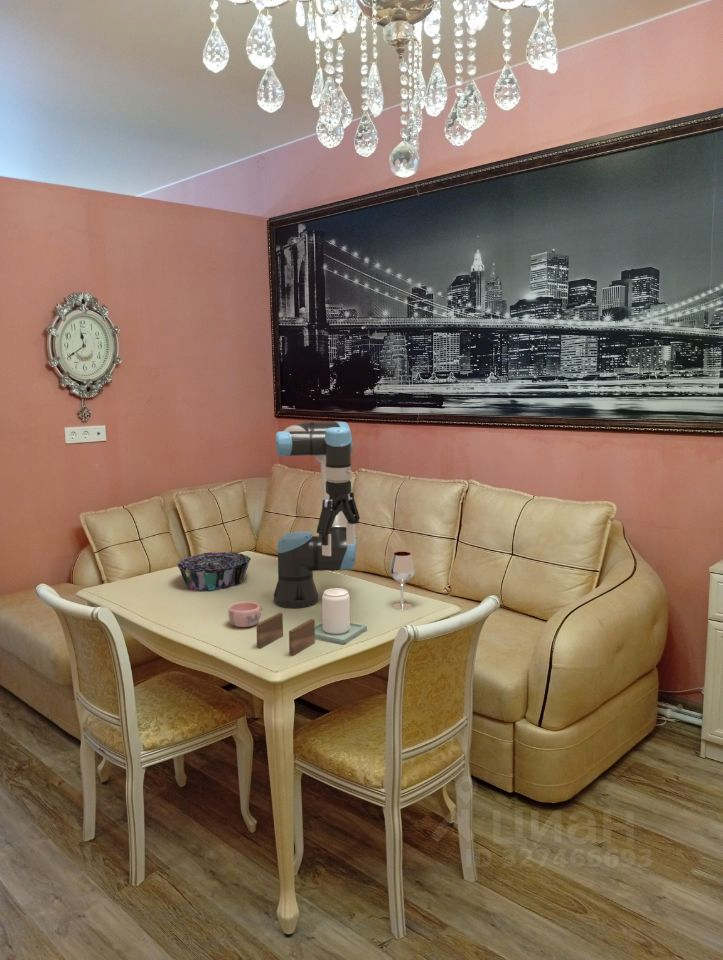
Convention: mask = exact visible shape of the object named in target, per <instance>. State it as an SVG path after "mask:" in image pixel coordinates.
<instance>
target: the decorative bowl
mask: <svg viewBox="0 0 723 960" xmlns="http://www.w3.org/2000/svg"><path fill="white" fill-rule="evenodd" d="M251 560H252V558H251V557H249V556H248V555H246V554H243V553H239V552H227V551H211V552H204V553H199V554H195V555H191V556H188V557H185V558H182V559H181V560H179V561H178V562H177V563H176V565H177V566H176V567H177V568H178V569H179V571H180V575H181V576H182V579H183V580H184V584H185V586H186V587H188V588H190V589H192V590H196V591H198V592H202V591H203V592H204V591H207V592H212V591H217V590H221V589H228V588H230V587H234V586H236V587H237V586H240V585H241V583H242V582H243V580H245V576H246V574H247V570H248V568H249V564H250V561H251Z"/></svg>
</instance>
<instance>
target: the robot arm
mask: <svg viewBox="0 0 723 960" xmlns="http://www.w3.org/2000/svg"><path fill="white" fill-rule="evenodd" d="M353 447H354V445H353V436H352V431H351V428H350V425H349V424H348V422H345V421H337V420H335V421H305V422H299V423H295V424H291V425H289V426H287V427H285V428H284V430H283V431H277V432H276V433H275V454H276V455H277V456H279V457H292V456H293V457H295V456H297V457H298V456H300V457H301V456H315V459H316V461H317V462H319V463H320V475H321V476H320V480H321V507H322V508H321V512H320V515H319V520H318V524H317V528H316V533H317V534H318V535H316V536H315V535H313V533H312V532H311V531H308V530H306V531H305V530H300V531H293V532H289V533H285V534H283V535H281V536H280V537H279V538H278V540H277V549H276V554H277V575H278V576H277V578H278V579H277V583H276V586H275V590H274V593H273V604H274V605H276V606H278V607H281V608H289V609H300V608H307V607H310V606H314V605H315V604H317V603H318V602H319V592H318V589H317V586H316V583H315V579H314V572H317V571H318V572H322V571H323V572H324V571H325V572H326V571H327V572H328V571H329V572H330V571H339V572H341V571H346V570H347V571H348V570H352V569H353V568H354V567H355V565H356V563H355V562H356V556H357V548H358V547H357V546H358V535H356V524H359V522H360V521H359V520H360V514H359V510H358V508H357V505H356V501H355V494H354V492H352V481H351V479H352V467H351V466H352V462H351V461H352V454H353V451H354V448H353Z"/></svg>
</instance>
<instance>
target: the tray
mask: <svg viewBox="0 0 723 960" xmlns="http://www.w3.org/2000/svg"><path fill="white" fill-rule="evenodd" d="M366 631H368V625H367V624H362V623H357V622H353V621H350V629H349V630H348V631H347V632H345V633H342V634H330V633H327V632H325V631H324V630H323V620H322V621H321V622H318V623H317V624H315V640H319V641H324V642H327V643H328V642H329V643H334V644H337V645H343V646H344V645H347V644H348V643H350V642H351V641H352V640H354V639H356V638H357V637H359V636H360V635H362V634H363V633H365V632H366Z"/></svg>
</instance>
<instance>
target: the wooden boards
mask: <svg viewBox="0 0 723 960" xmlns="http://www.w3.org/2000/svg"><path fill="white" fill-rule="evenodd" d="M283 615H284V613H281V612H278V613H276V614H274V615H271V616H270V617H268V618H266V619H264V620H262V621H260V622H258V623H257V624H255V625H256V648H257V649H260V650H261V649H262V648H265V647H266V646H268V645H270V644H272V643H274V642H275V641H277V640H278V639H281V638H283V637H284V619H283V618H284V616H283ZM315 625H316V624H315V619H314V618H313V619H312V618H311V619H308V620H307V621H304V622H303V623H301V624H299V625H297V626H295V627H294V628H292V629H290V630H289V631H288V645H289V646H288V647H289V649H288V650H289V656H292V657H294V656H296V655H297V654H299V653H301V652H302V651H304V650H306V649H307V648H309V647H310V646H312V645H314V644H315V643H316V639H315Z"/></svg>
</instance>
